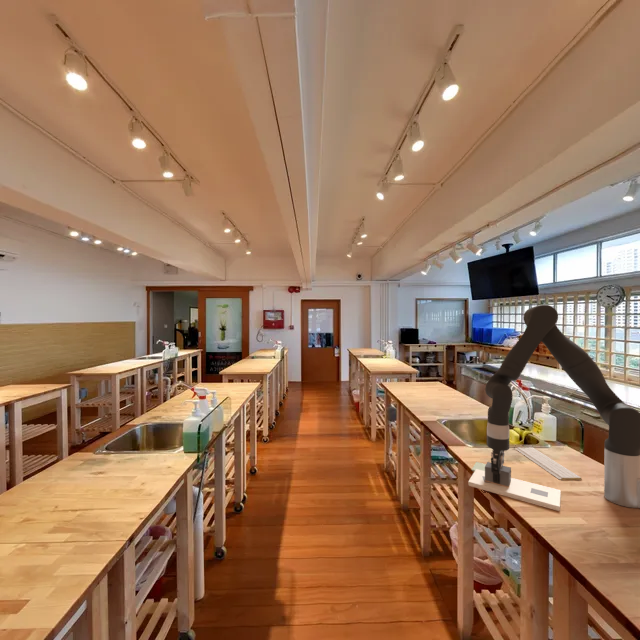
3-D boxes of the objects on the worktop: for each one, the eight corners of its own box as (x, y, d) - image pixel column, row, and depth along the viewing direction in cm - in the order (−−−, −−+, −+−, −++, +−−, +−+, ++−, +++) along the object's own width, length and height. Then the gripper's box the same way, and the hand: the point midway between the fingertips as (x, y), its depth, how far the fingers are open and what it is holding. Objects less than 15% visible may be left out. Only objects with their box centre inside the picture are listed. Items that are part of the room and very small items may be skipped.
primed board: (560, 494, 119) (560, 490, 119) (559, 511, 109) (559, 506, 109) (476, 472, 136) (476, 468, 136) (468, 485, 126) (468, 481, 126)
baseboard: (555, 481, 130) (581, 481, 130) (555, 474, 130) (581, 474, 130) (511, 450, 160) (532, 450, 160) (512, 444, 160) (532, 444, 160)
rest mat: (507, 470, 138) (507, 469, 138) (504, 478, 131) (504, 477, 131) (476, 462, 145) (476, 461, 145) (471, 470, 138) (471, 469, 138)
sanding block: (510, 482, 125) (511, 467, 125) (508, 487, 121) (509, 472, 121) (487, 475, 130) (487, 461, 130) (484, 481, 126) (484, 466, 126)
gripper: (506, 443, 117) (506, 491, 118) (512, 431, 129) (511, 475, 129) (483, 438, 122) (482, 484, 122) (490, 427, 133) (490, 470, 134)
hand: (497, 479), depth 126 cm, fingers closed on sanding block, 5 cm apart
